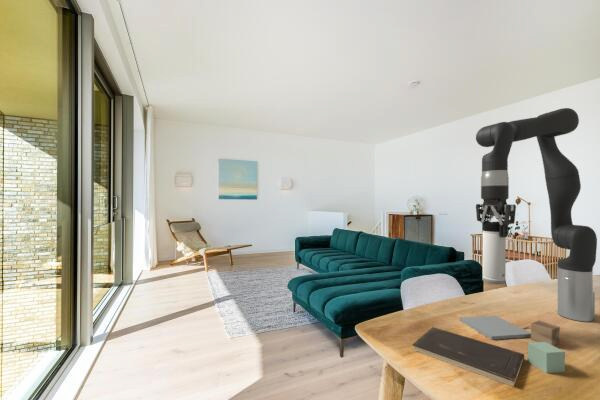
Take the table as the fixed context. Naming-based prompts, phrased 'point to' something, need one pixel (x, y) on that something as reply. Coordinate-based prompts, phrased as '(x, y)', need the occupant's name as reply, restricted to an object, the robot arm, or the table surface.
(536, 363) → the sage block
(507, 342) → the table surface
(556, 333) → the walnut block
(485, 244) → the travel mug
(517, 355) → the hardcover book
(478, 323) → the slate board
